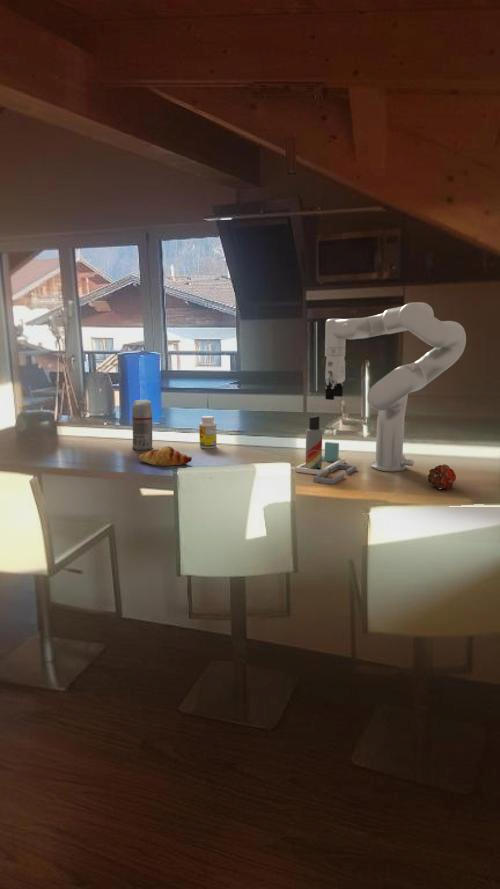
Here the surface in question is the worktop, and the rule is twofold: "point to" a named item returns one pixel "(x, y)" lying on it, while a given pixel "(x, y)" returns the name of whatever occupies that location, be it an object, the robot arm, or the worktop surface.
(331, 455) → the lane sled
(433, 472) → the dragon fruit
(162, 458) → the croissant
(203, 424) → the supplement bottle
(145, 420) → the spray can
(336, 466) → the grey open frame
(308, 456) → the lotion bottle
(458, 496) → the worktop surface
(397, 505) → the worktop surface
